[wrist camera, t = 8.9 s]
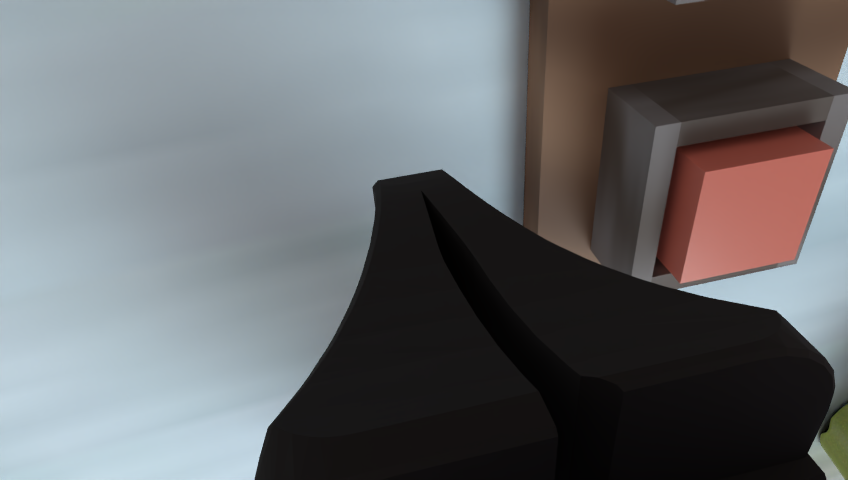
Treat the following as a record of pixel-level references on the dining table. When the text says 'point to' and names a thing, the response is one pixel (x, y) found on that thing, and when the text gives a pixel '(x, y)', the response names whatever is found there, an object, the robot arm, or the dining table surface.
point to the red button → (740, 202)
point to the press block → (663, 108)
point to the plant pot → (837, 441)
